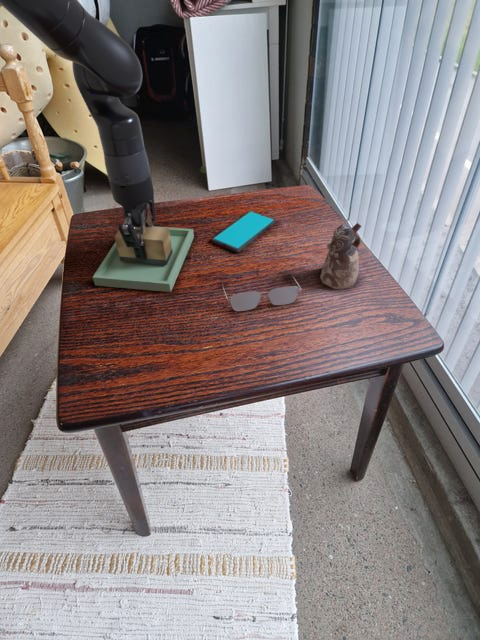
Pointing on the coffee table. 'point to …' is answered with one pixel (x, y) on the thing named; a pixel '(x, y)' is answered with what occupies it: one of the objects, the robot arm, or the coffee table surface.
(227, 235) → the smartphone
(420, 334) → the coffee table surface
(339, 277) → the figurine
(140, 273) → the tray
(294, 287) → the eyeglasses
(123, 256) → the eraser
